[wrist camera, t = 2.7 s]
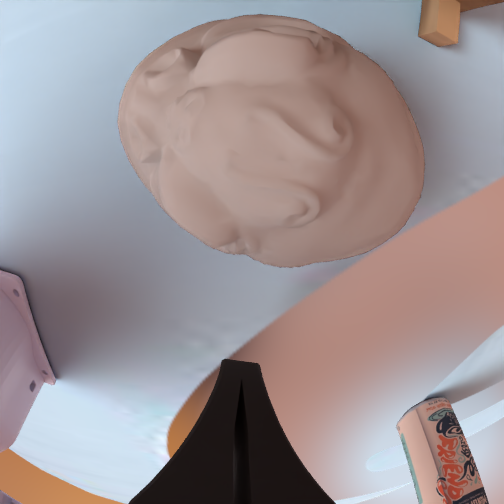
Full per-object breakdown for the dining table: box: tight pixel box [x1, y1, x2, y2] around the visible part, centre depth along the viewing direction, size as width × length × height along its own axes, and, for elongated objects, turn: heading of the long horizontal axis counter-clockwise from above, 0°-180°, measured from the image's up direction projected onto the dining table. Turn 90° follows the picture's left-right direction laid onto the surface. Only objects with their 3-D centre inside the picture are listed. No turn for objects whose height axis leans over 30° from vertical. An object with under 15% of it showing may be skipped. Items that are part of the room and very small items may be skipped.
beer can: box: [396, 398, 489, 504], centre depth 14 cm, size 5×5×12 cm
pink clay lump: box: [118, 14, 425, 268], centre depth 7 cm, size 6×7×7 cm
